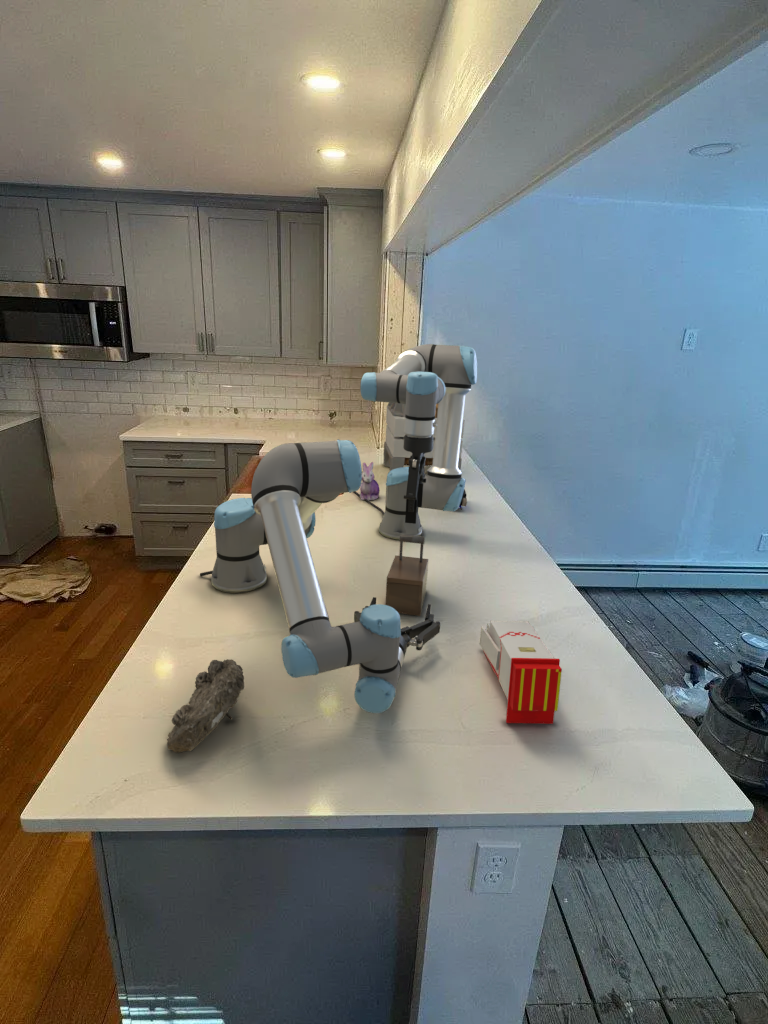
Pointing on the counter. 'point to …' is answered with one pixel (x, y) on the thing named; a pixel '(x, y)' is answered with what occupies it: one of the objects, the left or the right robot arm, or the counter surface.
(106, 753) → the counter surface
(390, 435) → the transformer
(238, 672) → the fossil
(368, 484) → the figurine
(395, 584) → the chest
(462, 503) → the figurine character
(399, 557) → the lid
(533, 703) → the toy
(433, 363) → the right robot arm
